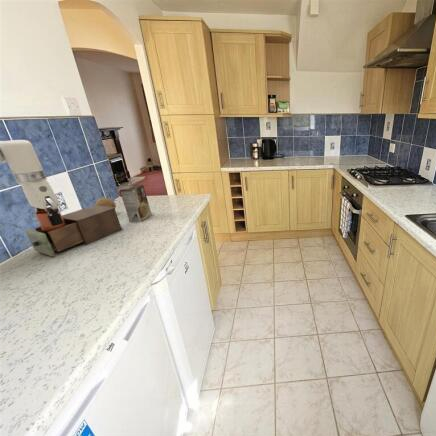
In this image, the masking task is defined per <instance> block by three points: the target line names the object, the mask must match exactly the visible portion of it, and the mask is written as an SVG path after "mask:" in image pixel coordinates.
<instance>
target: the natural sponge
mask: <svg viewBox="0 0 436 436" xmlns="http://www.w3.org/2000/svg"><path fill="white" fill-rule="evenodd" d="M94 205H101V206H106V207H112V208H115V209H116V208H117V205H116V202H115V201H114V199H111V198H110V197H104V196H103V197H99V198H98V199H97V200H96V202H95V203H94Z"/></svg>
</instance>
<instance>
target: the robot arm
mask: <svg viewBox="0 0 436 436" xmlns="http://www.w3.org/2000/svg"><path fill="white" fill-rule="evenodd" d="M4 163H7V165H8V167H9V169H10V171H11V173H12V175H13V177H14V179H15V181H16V184H18V185H20V186H21V188H22V192H23V193H24V196H25V198H26V200H27V202H28V204H29V205H30V206H31V207H32V208H33V209H34V213H35V212H37V211H40V210H44V209H45V211H46V212H47V214H48V215H49V216H48V218H49V220H50V222H51V224H52V226H56V225H59V224H62V223H63V221H62V219H61V217H60V214H59V211H60V210H59V211H58V209H59V206H60V202H59V199H58V197H57V196H56V194H55V192H54V190H53V188H52V186H51V185H50V183H49V181H48V178H47V175H46V173H45V171H44V169H43V166H42V164H41V162H40V160H39V157H38V155H37V152H36V151H35V147H34V146H33V144H32V143H31V141H29V140H27V139H12V140H11V139H9V140H0V164H4ZM49 209H51V210H50V211H49Z"/></svg>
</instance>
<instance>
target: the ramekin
mask: <svg viewBox="0 0 436 436" xmlns="http://www.w3.org/2000/svg"><path fill="white" fill-rule="evenodd" d="M50 210H51V209H49V211H50ZM58 211H59V214H60V217H61V219H62V221H63V223H62V224H59V225H56V226H52V224H51V222H50V220H49V218H48V216H49V215H48V214H47V212H46V211H45V209H44V210H40V211H37V212H35V211H34V214H33V215H34V216H35V218H36V221H37V222H38V224H39V226H41V228H42V230H44V231H47V230H54V229H57V228H60V227H63V226H64V225H65V222H64V220H63V218H62V215H63V214H61V210H60V208H58Z"/></svg>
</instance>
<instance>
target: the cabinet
mask: <svg viewBox="0 0 436 436" xmlns="http://www.w3.org/2000/svg"><path fill="white" fill-rule="evenodd" d="M61 215H62V218H63V219H65V220H69V221H73V222H77V225H78V227H79V229H80V232H81V234H82V237H83V239H84V242H81V243H80V244H83V245H90V244H92V243H94V242H96V241H98V240H101V239H103V238H105V237H108V236H111V235H112V234H115V233H117V232H120V231H123V228H122V226H121V225H122V224H121V223H120V220H119V217H118V214H117V211H116V208H112V207H106V206H101V205H95V204H94V205H91V206H88V207H85V208H81V209H77V210H75V211H72V212H68V213H65V214H61Z"/></svg>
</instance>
